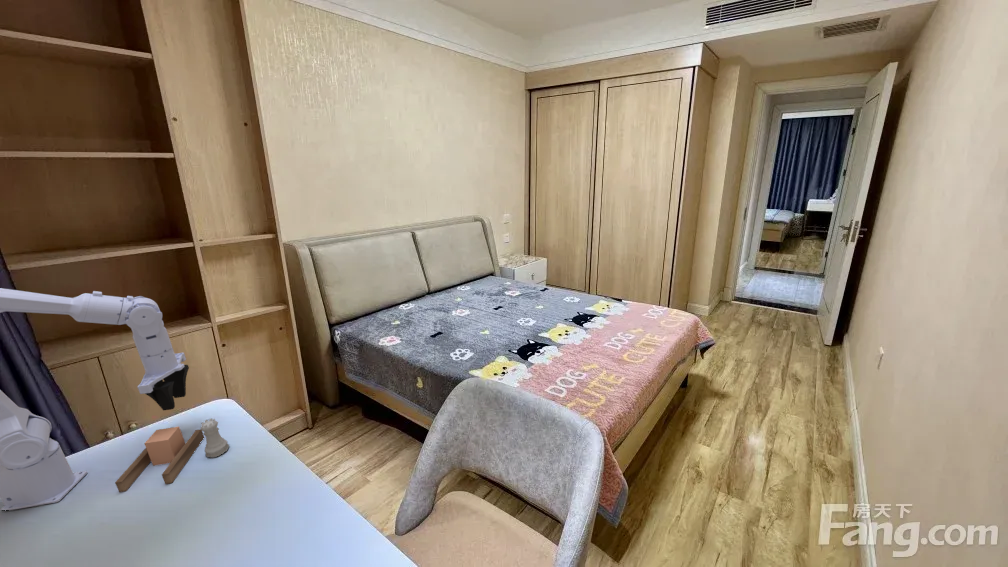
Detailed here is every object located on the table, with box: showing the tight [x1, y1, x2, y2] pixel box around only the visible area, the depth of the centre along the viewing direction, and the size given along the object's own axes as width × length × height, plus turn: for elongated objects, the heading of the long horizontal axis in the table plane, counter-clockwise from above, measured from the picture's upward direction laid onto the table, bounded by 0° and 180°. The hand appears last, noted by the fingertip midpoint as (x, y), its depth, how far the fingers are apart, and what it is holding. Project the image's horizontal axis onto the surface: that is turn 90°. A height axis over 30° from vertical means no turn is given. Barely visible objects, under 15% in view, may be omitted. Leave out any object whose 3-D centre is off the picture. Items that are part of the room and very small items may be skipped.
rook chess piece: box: [199, 418, 230, 459], centre depth 90 cm, size 4×4×8 cm
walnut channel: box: [114, 429, 205, 493], centre depth 88 cm, size 9×14×2 cm
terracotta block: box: [144, 426, 186, 467], centre depth 90 cm, size 4×4×6 cm
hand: (174, 402), depth 94 cm, fingers open, 4 cm apart
